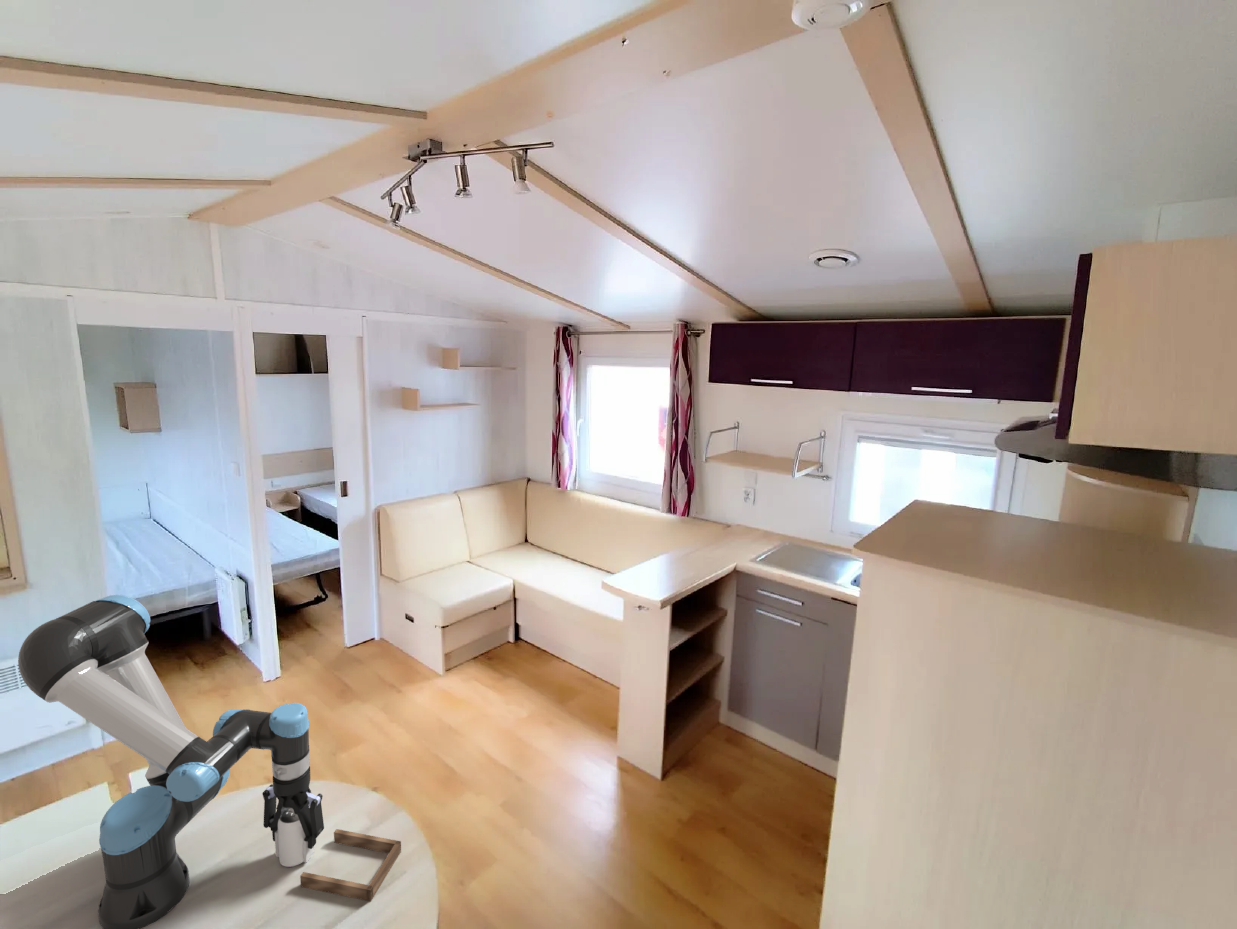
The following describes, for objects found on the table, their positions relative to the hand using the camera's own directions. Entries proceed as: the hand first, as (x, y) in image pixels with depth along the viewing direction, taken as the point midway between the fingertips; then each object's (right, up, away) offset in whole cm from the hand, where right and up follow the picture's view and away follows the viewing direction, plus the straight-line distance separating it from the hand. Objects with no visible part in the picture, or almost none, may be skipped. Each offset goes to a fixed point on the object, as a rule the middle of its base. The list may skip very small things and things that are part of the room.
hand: (295, 854), depth 136 cm
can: (0, -1, 0) cm, 1 cm away
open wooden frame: (+15, -2, -2) cm, 15 cm away
